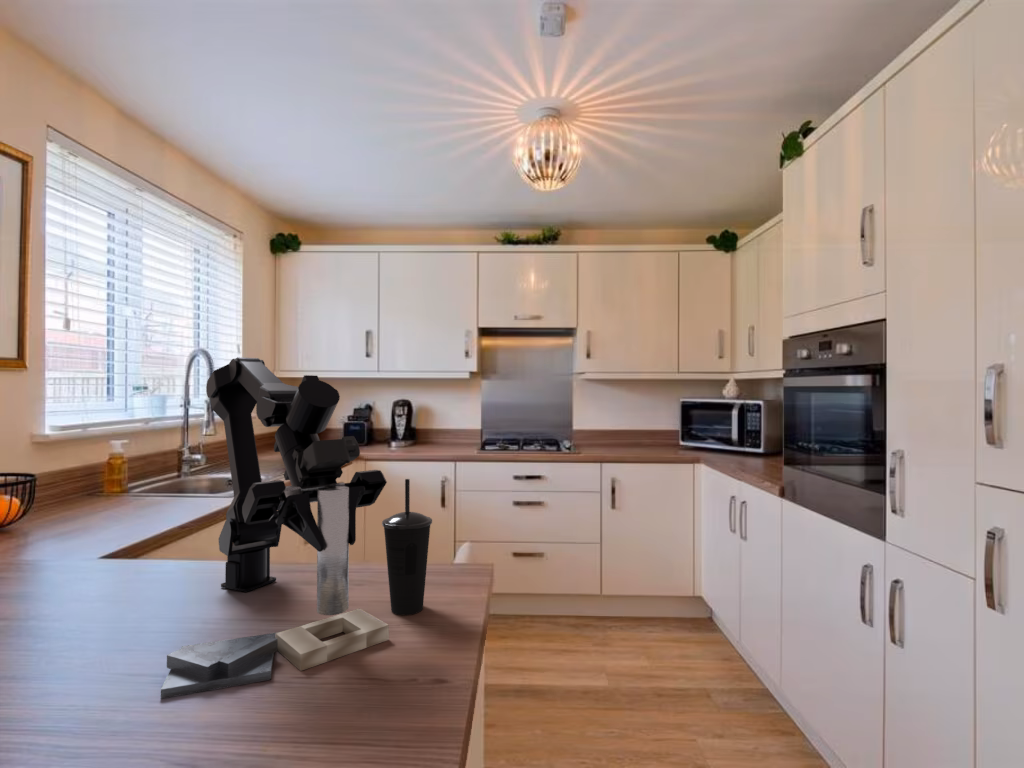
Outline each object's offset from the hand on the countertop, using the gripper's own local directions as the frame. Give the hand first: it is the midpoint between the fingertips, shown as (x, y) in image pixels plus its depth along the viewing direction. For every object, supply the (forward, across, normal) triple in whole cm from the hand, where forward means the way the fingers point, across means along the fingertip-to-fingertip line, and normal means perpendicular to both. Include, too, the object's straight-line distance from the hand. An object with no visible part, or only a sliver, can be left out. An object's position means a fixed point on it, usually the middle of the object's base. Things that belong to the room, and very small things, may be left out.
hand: (337, 546), depth 72 cm
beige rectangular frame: (+8, 0, +10) cm, 13 cm away
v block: (+6, -12, +13) cm, 19 cm away
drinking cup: (+6, +14, +13) cm, 20 cm away
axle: (+5, 0, +7) cm, 9 cm away
